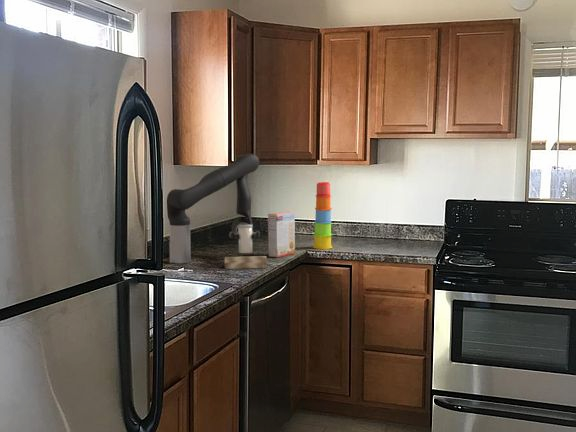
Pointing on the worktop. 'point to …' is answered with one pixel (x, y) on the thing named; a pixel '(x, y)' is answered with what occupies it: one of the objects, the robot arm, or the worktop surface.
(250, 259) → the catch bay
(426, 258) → the worktop surface
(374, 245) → the worktop surface
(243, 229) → the cylinder
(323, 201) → the stacking cups
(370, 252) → the worktop surface
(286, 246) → the cracker box
